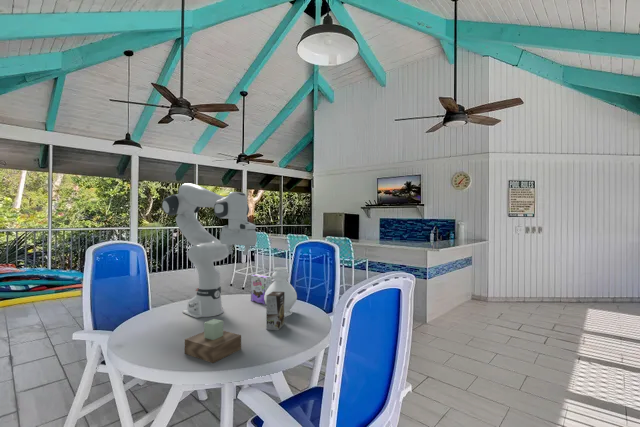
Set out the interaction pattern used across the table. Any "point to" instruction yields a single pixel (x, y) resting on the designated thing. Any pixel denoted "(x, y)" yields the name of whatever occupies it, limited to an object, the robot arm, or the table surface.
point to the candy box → (259, 287)
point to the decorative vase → (282, 289)
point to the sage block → (213, 329)
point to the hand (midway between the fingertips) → (237, 254)
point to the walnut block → (212, 346)
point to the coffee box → (275, 311)
